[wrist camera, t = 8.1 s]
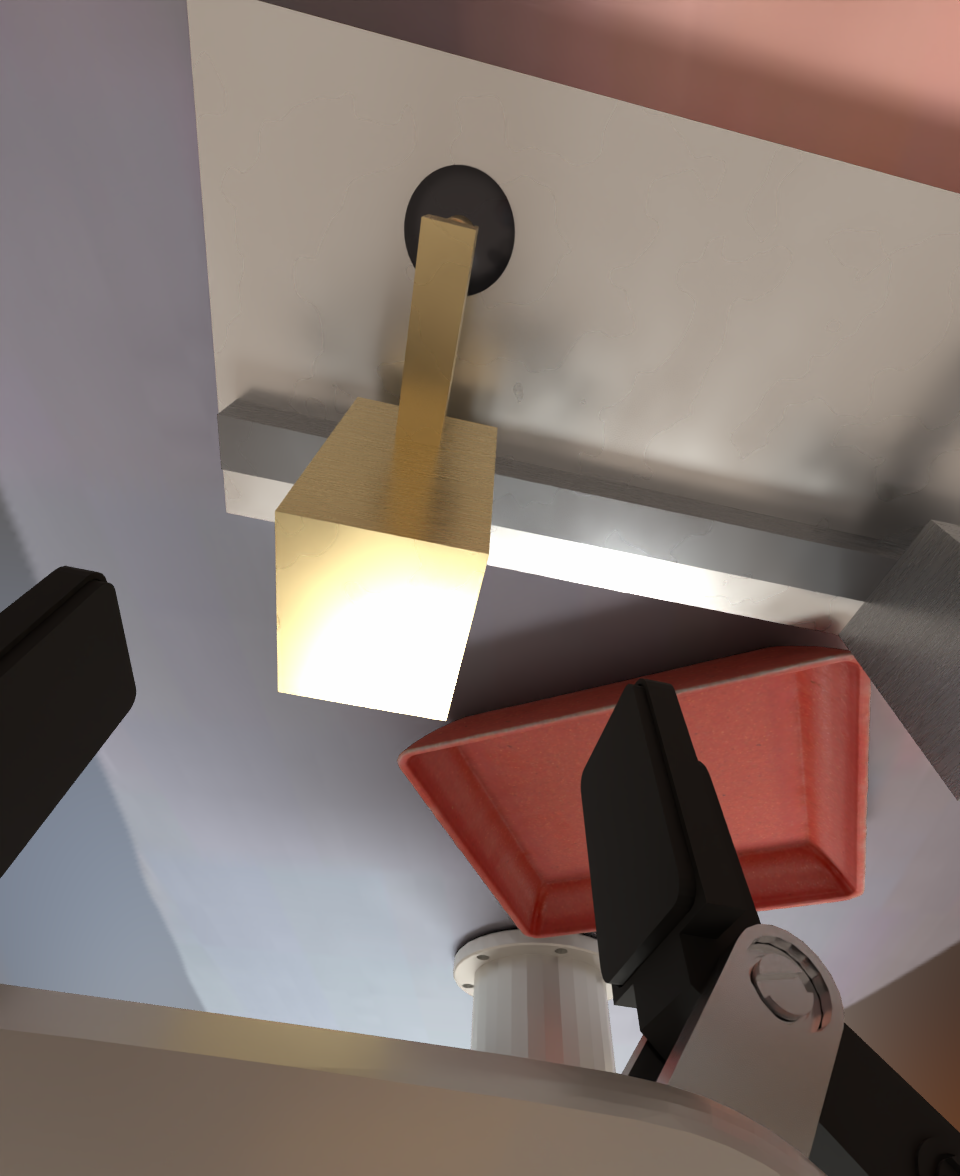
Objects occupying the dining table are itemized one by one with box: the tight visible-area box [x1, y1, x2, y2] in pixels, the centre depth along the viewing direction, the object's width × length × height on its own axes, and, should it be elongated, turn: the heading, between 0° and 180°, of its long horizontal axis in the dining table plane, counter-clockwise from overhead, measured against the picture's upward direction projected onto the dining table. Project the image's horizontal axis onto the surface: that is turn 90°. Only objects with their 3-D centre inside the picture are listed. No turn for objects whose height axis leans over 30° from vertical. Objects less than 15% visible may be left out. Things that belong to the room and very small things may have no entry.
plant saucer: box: [397, 646, 871, 938], centre depth 27 cm, size 18×18×3 cm
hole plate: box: [187, 0, 960, 801], centre depth 13 cm, size 12×26×9 cm, turn 78°
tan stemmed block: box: [275, 214, 497, 721], centre depth 12 cm, size 9×4×7 cm, turn 168°
